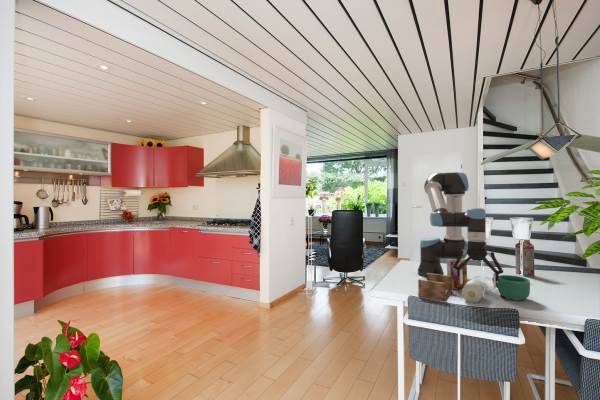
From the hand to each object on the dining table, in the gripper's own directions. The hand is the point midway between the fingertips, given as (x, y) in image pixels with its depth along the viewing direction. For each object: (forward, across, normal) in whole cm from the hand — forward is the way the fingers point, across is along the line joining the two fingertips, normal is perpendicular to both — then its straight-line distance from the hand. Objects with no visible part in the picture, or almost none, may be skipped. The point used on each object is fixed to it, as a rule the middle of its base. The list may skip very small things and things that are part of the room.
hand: (477, 285), depth 138 cm
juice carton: (+6, +18, +72) cm, 74 cm away
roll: (+6, 0, 0) cm, 6 cm away
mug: (+7, +12, +14) cm, 20 cm away
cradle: (+7, -18, -2) cm, 19 cm away
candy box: (+7, -11, +16) cm, 20 cm away
